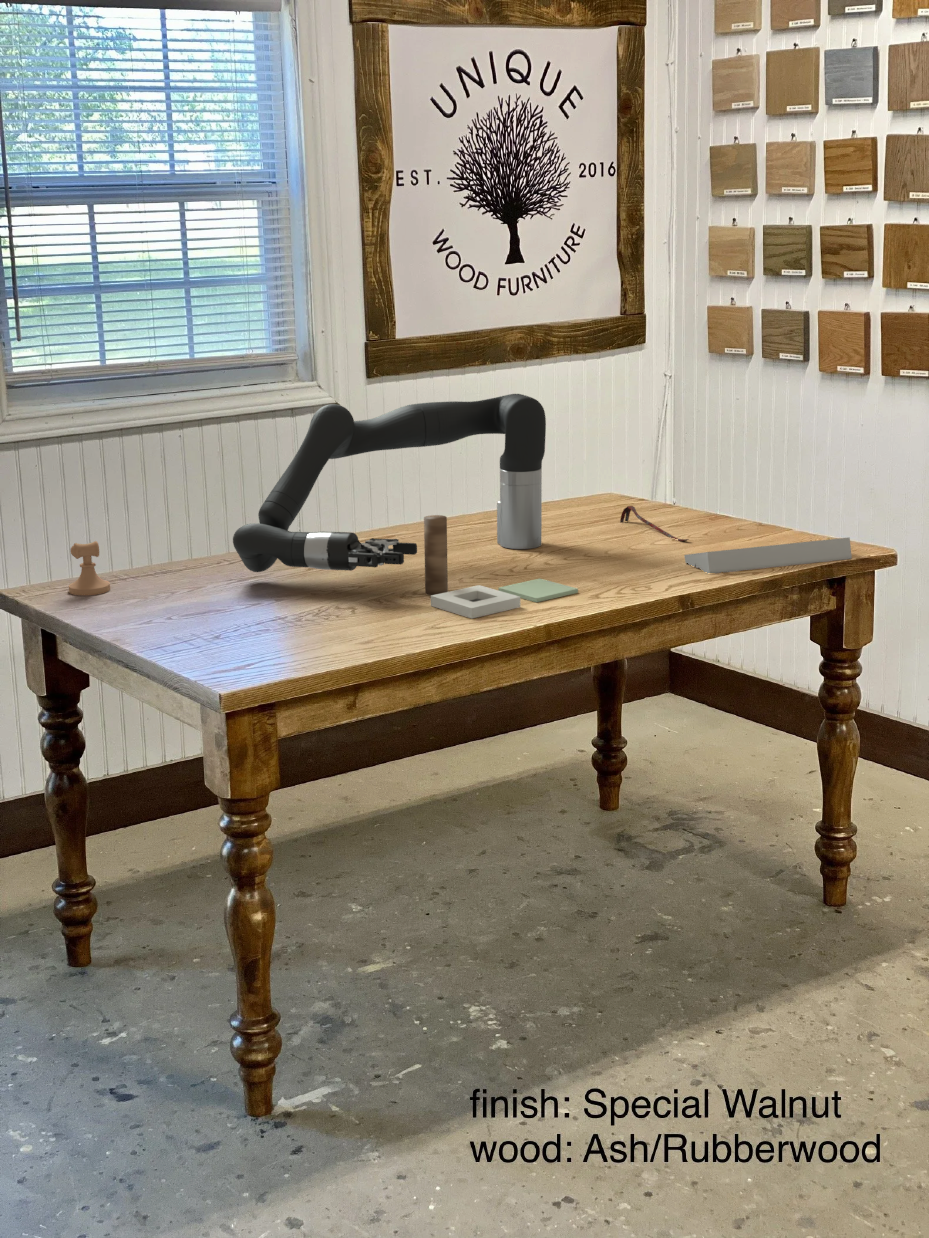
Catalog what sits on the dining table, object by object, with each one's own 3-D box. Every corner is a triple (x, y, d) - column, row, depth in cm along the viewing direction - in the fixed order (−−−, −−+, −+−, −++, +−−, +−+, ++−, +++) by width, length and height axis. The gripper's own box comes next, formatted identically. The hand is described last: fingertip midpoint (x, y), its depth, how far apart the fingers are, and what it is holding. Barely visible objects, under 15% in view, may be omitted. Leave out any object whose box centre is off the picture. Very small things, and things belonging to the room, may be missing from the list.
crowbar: (619, 523, 346) (621, 503, 344) (627, 522, 347) (629, 502, 345) (680, 559, 325) (682, 538, 323) (689, 558, 326) (691, 537, 324)
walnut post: (420, 592, 284) (419, 517, 280) (438, 588, 287) (437, 514, 283) (434, 596, 281) (433, 520, 277) (452, 592, 284) (451, 517, 280)
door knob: (109, 544, 284) (68, 548, 281) (113, 592, 287) (72, 597, 284) (102, 536, 291) (62, 540, 288) (106, 583, 294) (66, 588, 291)
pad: (498, 591, 284) (498, 587, 284) (539, 582, 291) (539, 578, 291) (536, 602, 276) (536, 598, 276) (578, 592, 283) (578, 588, 283)
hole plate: (430, 605, 275) (430, 595, 274) (479, 595, 282) (479, 585, 281) (471, 618, 266) (471, 608, 265) (520, 607, 273) (520, 596, 272)
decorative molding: (686, 577, 305) (709, 575, 296) (684, 554, 305) (707, 552, 296) (825, 562, 317) (851, 559, 307) (823, 540, 317) (849, 537, 307)
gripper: (345, 561, 294) (421, 564, 290) (319, 577, 281) (399, 581, 277) (343, 524, 292) (420, 527, 288) (317, 539, 279) (397, 542, 275)
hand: (410, 553), depth 282 cm, fingers open, 8 cm apart
